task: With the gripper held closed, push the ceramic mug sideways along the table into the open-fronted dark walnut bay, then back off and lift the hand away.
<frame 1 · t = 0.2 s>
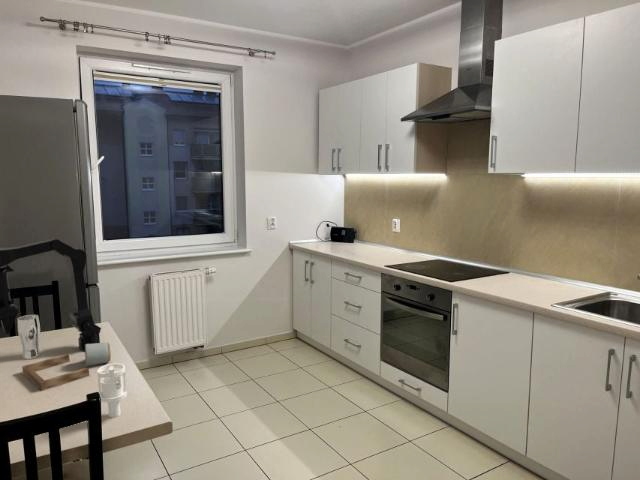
hand: (3, 330, 160), 14 cm above the table, tool pointing down, fingers open, 9 cm apart
strainer: (114, 415, 133), on the table
beer glass: (32, 356, 175), on the table
walnut bay: (58, 373, 159), on the table
ceramic mug: (97, 362, 169), on the table
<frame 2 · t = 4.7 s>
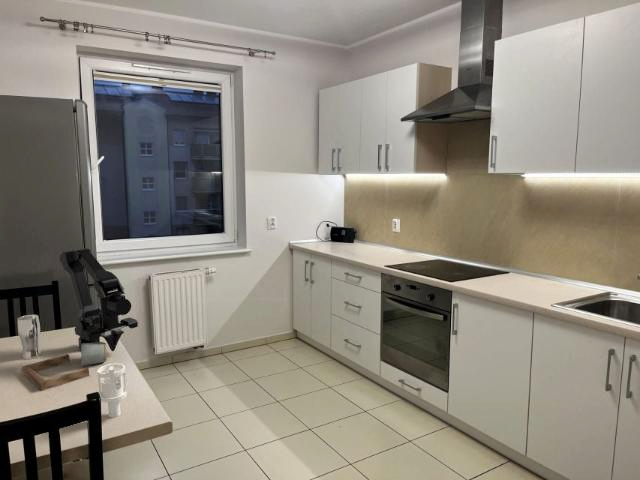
hand: (112, 350, 173), 3 cm above the table, tool pointing down, fingers closed
ceramic mug: (93, 362, 169), on the table, touching gripper
everything else where it was.
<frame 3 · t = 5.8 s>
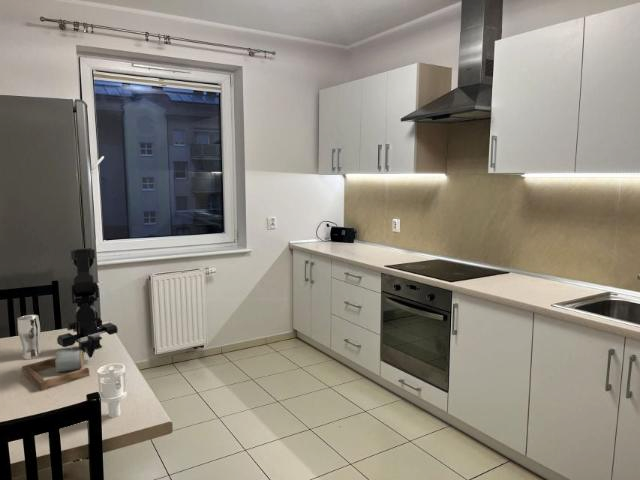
hand: (90, 357, 167), 3 cm above the table, tool pointing down, fingers closed
ceramic mug: (70, 368, 164), on the table, touching gripper
everything else where it was.
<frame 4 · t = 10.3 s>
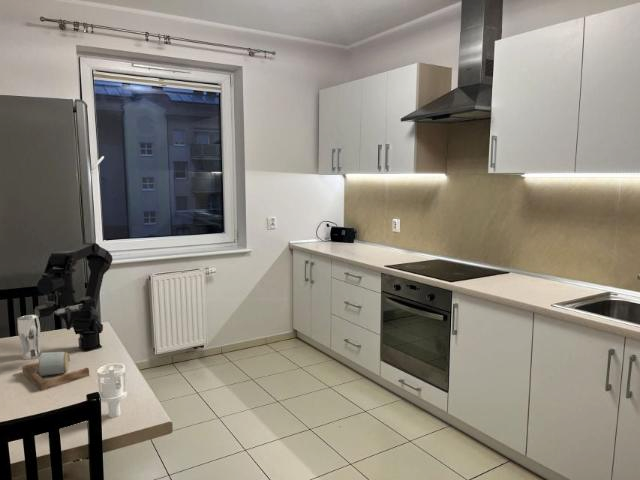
hand: (68, 329, 168), 12 cm above the table, tool pointing down, fingers closed
ceramic mug: (54, 372, 161), on the table
everything else where it was.
at the end: ceramic mug inside the target area on the walnut bay (2.6 cm from its centre), point 0.0 cm above the walnut bay's base; ceramic mug tilted 0° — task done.
